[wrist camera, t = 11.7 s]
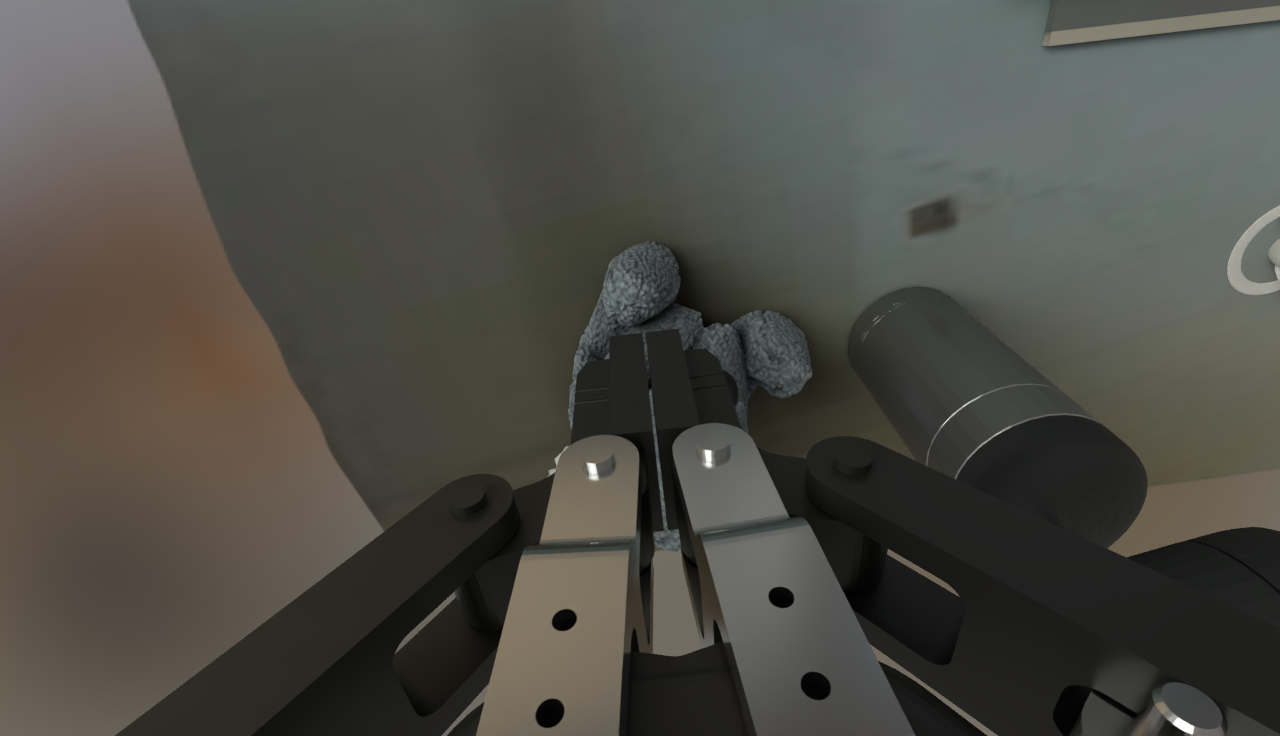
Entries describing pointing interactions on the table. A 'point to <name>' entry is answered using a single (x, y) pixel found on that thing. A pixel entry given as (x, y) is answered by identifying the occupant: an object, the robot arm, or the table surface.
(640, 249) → the koala plush
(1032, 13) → the table surface
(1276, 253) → the teacup and saucer
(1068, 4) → the mat
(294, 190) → the table surface
